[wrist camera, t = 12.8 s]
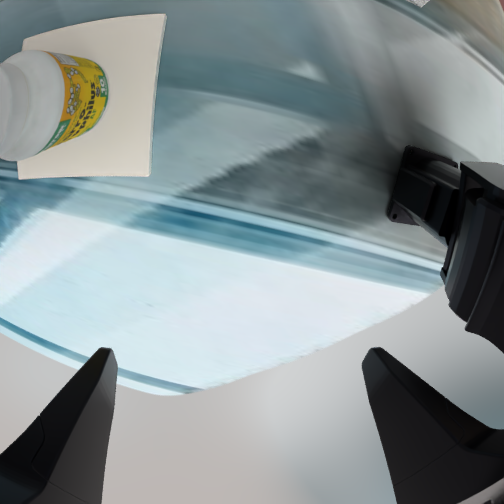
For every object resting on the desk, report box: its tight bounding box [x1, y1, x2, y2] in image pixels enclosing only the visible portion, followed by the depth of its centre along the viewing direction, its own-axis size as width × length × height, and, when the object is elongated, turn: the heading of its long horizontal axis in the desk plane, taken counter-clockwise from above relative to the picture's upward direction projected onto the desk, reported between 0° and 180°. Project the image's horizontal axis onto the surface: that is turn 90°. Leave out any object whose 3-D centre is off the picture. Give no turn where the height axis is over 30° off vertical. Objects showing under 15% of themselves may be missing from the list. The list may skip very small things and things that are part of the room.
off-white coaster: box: [17, 14, 167, 179], centre depth 14 cm, size 11×11×1 cm
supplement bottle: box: [0, 50, 110, 161], centre depth 10 cm, size 5×5×10 cm
